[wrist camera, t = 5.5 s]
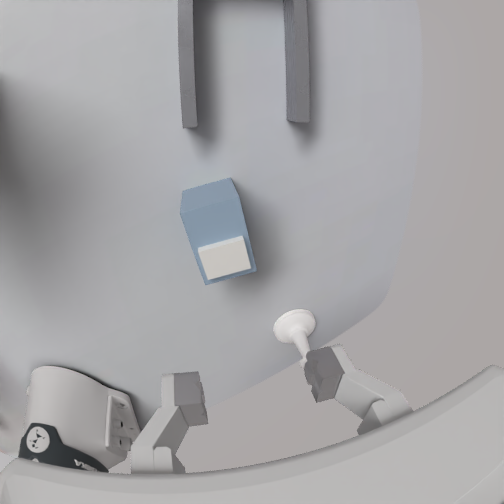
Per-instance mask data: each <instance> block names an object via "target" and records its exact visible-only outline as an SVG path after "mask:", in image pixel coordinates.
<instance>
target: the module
mask: <svg viewBox="0 0 504 504" xmlns="http://www.w3.org/2000/svg"><path fill="white" fill-rule="evenodd" d="M180 215H181V218H182V221H183V224H184V227H185V230H186V233H187V236H188V238H189V241H190V244H191V247H192V250H193V253H194V255H195V258H196V261H197V264H198V266H199V269H200V272H201V275H202V277H203V280H204V283H205V285H208V284H212V283H215V282H219V281H223V280H226V279H230V278H234V277H237V276H241V275H245V274H248V273H252V272H255V271H257V269H256V265H255V261H254V257H253V252H252V248H251V244H250V240H249V236H248V232H247V228H246V223H245V219H244V215H243V211H242V207H241V203H240V198H239V196H238V193H237V191H236V189H235V187H234V184H233V182H232V180H231V178H227V179H223V180H220V181H216V182H212V183H209V184H205V185H202V186H198V187H195V188H191V189H188V190H184V191H183V193H182V201H181V209H180Z"/></svg>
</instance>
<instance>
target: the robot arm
mask: <svg viewBox="0 0 504 504" xmlns="http://www.w3.org/2000/svg"><path fill="white" fill-rule="evenodd" d="M306 359H307V362H306V363H305V366H304V371H305V377H306V379H307V382H308V384H310V385H312V394H313V396H314V398H315V400H316V402H321V401H324V400H328V399H332V398H334V399H335V400H336V401H338V402H339V403H341V404H342V405H343V406H345V407H346V408H347V409H349V410H350V411H352V412H353V413H354V414H356V415H358V416H359V417H360V418H362V419H363V421H362V423H361V424H360V426H359V428H358V429H357V432H358V434H359V436H356V437H353V438H351V439H348V440H345V441H342V442H340V443H336V444H334V445H331V446H327V447H324V448H321V449H318V450H314V451H311V452H308V453H304V454H300V455H296V456H292V457H288V458H284V459H280V460H276V461H271V462H266V463H261V464H256V465H250V466H245V467H238V468H232V469H224V470H217V471H207V472H197V473H185V467H184V466H183V465H182V464H181V462H180V461H179V460H178V458H177V457H176V456H175V454H176V452H177V450H178V448H179V446H180V444H181V442H182V440H183V438H184V436H185V434H186V432H187V430H188V428H189V426H197V425H204V424H208V419H207V412H206V408H205V405H204V403H205V397H204V391H203V387H202V383H201V382H200V376H199V372H198V371H197V372H186V373H173V374H162V378H161V387H162V407H159V408H158V409H157V410H156V412H155V413H154V415H153V416H152V417H151V419H150V420H149V422H148V423H147V424H146V426H145V427H144V429H143V430H142V432H141V431H140V428H139V425H138V422H137V419H136V416H135V413H134V410H133V407H132V404H131V400H130V397H129V396H128V395H127V394H125V393H122V392H120V391H116V390H113V389H110V388H107V387H105V386H103V385H102V384H100V383H98V382H97V381H95V380H93V379H91V378H89V377H87V376H85V375H83V374H80V373H78V372H75V371H72V370H69V369H66V368H61V367H55V366H42V367H38V368H36V369H35V370H33V372H32V373H31V380H30V385H29V386H28V387H27V391H26V394H27V396H28V400H27V405H26V412H25V419H24V427H23V431H24V434H25V435H24V437H22V439H21V444H20V447H19V451H18V452H19V456H18V458H15V459H14V460H13V461H11V462H10V463H9V464H8V465H7V466H6V467H5V468H4V469H3V470H2V471H1V472H0V504H504V368H501V367H499V366H495V365H490V366H488V367H486V368H485V369H484V370H482V371H481V372H479V373H478V374H476V375H475V376H473V377H472V378H470V379H469V380H467V381H466V382H464V383H463V384H461V385H460V386H458V387H457V388H455V389H453V390H452V391H450V392H448V393H446V394H445V395H443V396H441V397H439V398H438V399H436V400H434V401H433V402H431V403H429V404H427V405H425V406H423V407H421V408H419V409H417V410H415V411H413V410H412V408H411V407H410V406H409V404H408V402H407V400H406V399H405V397H404V396H403V394H402V393H401V391H400V390H398V389H396V388H394V387H391V386H390V385H387V384H386V383H384V382H382V381H380V380H378V379H376V378H375V377H373V376H371V375H369V374H367V373H365V372H363V371H361V370H360V369H359V370H356V368H355V367H354V365H353V363H352V362H351V360H350V358H349V357H348V355H347V353H346V352H345V350H344V348H343V347H342V345H341V344H337V345H333V346H330V347H324V348H321V349H317V350H313V351H309V352H307V354H306ZM133 441H134V443H132V442H133ZM127 451H131V474H119V473H108V472H109V471H108V469H110V468H112V467H113V466H115V465H117V464H118V463H120V462H122V461H124V460H125V459H126V457H127Z"/></svg>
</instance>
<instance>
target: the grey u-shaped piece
mask: <svg viewBox="0 0 504 504" xmlns="http://www.w3.org/2000/svg"><path fill="white" fill-rule="evenodd" d="M283 2H284V23H285V51H286V94H287V120H290V121H294V122H310V85H309V42H308V19H307V2H306V0H283ZM178 45H179V73H180V93H181V109H182V123H183V128H191V127H197V111H196V93H195V71H194V42H193V0H178Z"/></svg>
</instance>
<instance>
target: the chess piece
mask: <svg viewBox="0 0 504 504" xmlns="http://www.w3.org/2000/svg"><path fill="white" fill-rule="evenodd" d="M314 328H315V319H314V316H313V314H312V313H311V312H310V311H308V310H305V309H295V310H291V311H289V312H287V313H285V314H283V315H282V316H281V317H279V318H278V320H277V321H276V322H275V324H274V328H273V330H274V334H275V335H276V337H277V339H278V340H279V341H281V342H283V343H295V345H296V347H297V348H298V350H299V352H300V353H301V355H302V357H303V358H302V359H301V360H300V363H299V364H300V366H301V367H302V368H304V366H305V363H306V362H307V359H306V354H307V352H309V351H311V350H310V347H309V343H308V339H307V337H308V336H309V335H310V334H311V333H312V332H313V330H314ZM307 383H308V382H307ZM309 385H310V384H309Z"/></svg>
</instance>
